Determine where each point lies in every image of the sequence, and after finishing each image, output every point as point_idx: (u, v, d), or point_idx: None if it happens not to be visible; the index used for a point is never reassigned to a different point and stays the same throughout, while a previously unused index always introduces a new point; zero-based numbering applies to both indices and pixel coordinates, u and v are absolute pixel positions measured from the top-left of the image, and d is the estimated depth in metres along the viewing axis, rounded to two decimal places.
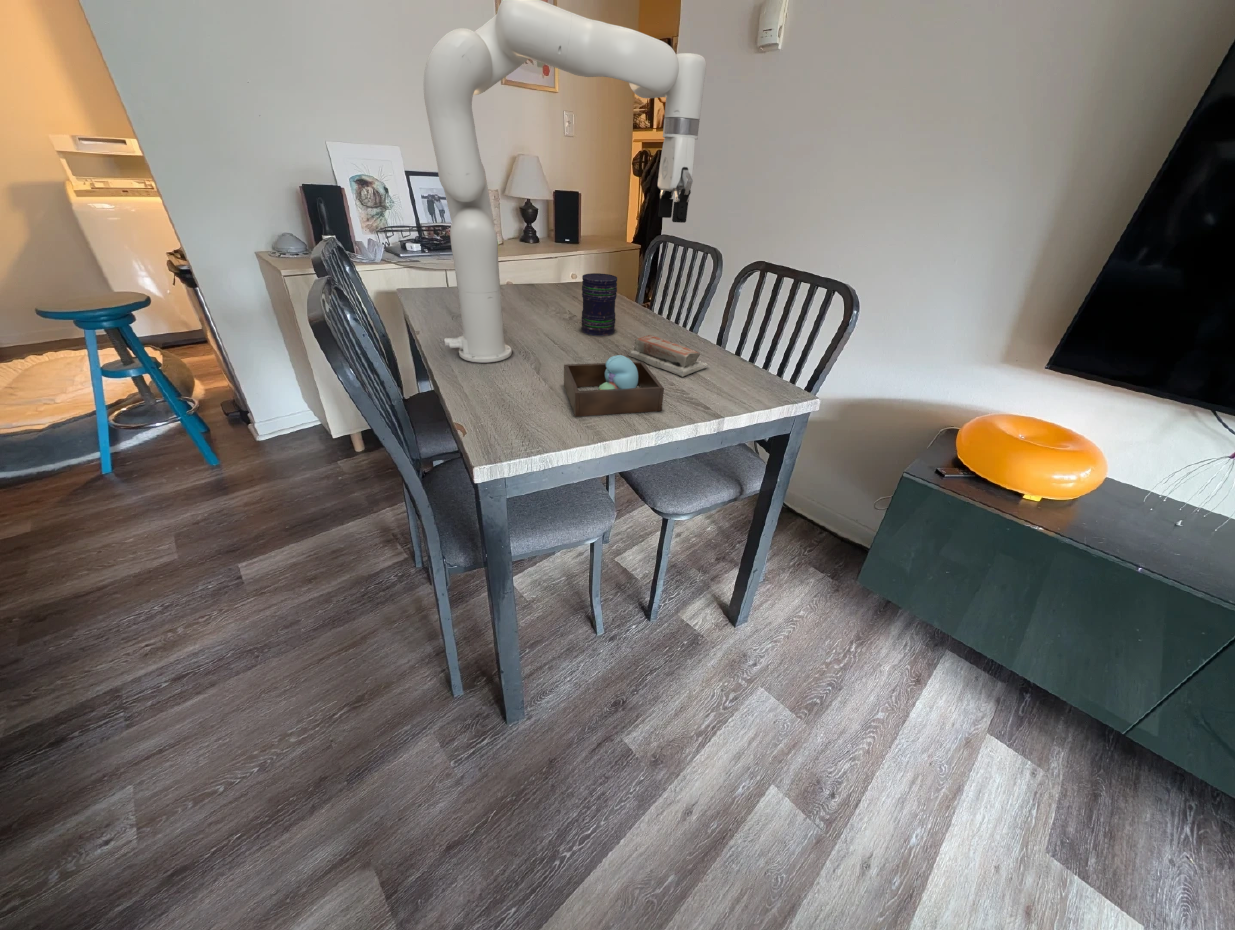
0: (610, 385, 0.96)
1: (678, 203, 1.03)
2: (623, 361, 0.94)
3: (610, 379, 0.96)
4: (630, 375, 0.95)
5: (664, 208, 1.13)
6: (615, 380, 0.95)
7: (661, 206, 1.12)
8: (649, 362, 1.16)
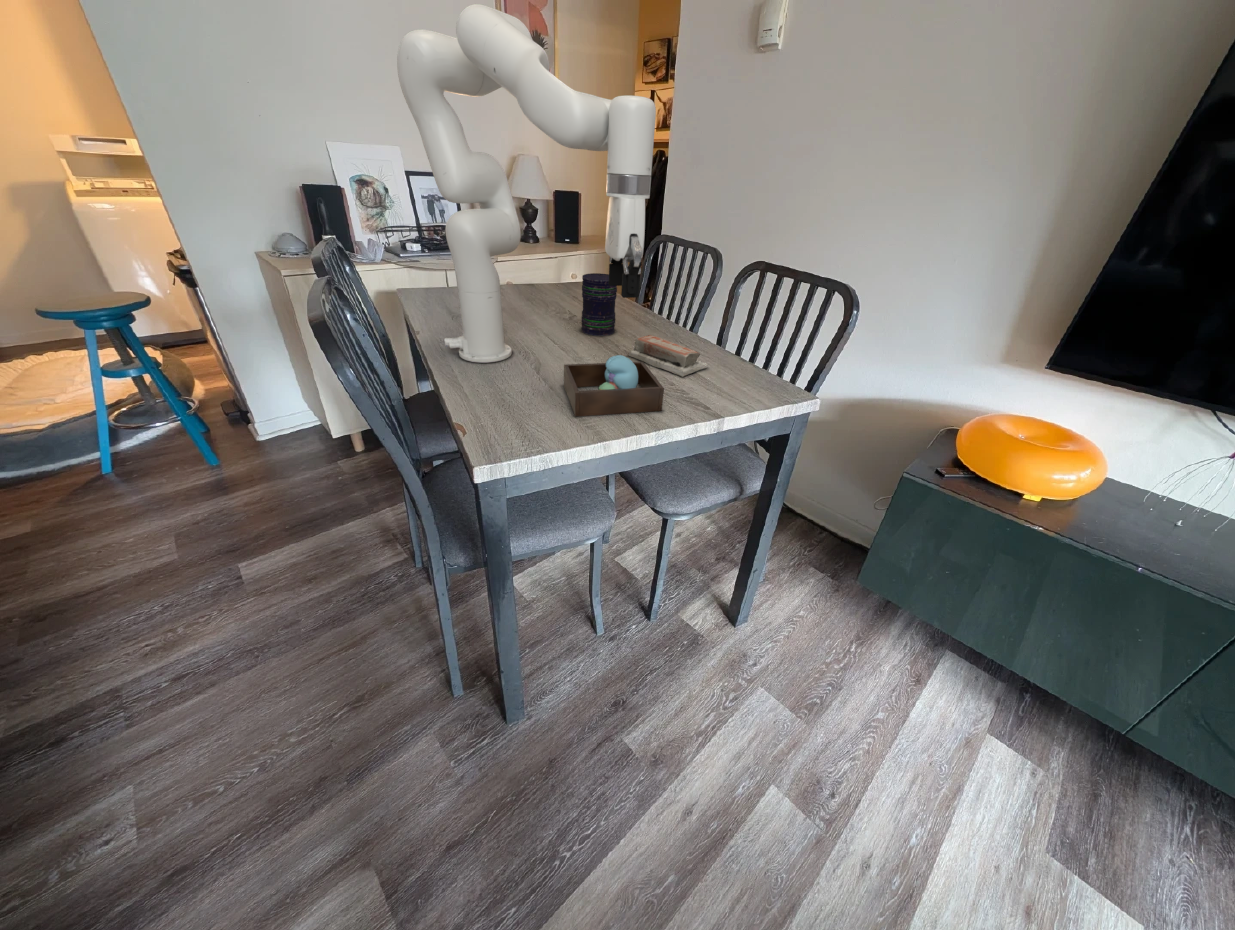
0: (610, 385, 0.96)
1: (627, 276, 0.84)
2: (623, 361, 0.94)
3: (610, 379, 0.96)
4: (630, 375, 0.95)
5: (615, 275, 0.93)
6: (615, 380, 0.95)
7: (611, 273, 0.92)
8: (649, 362, 1.16)
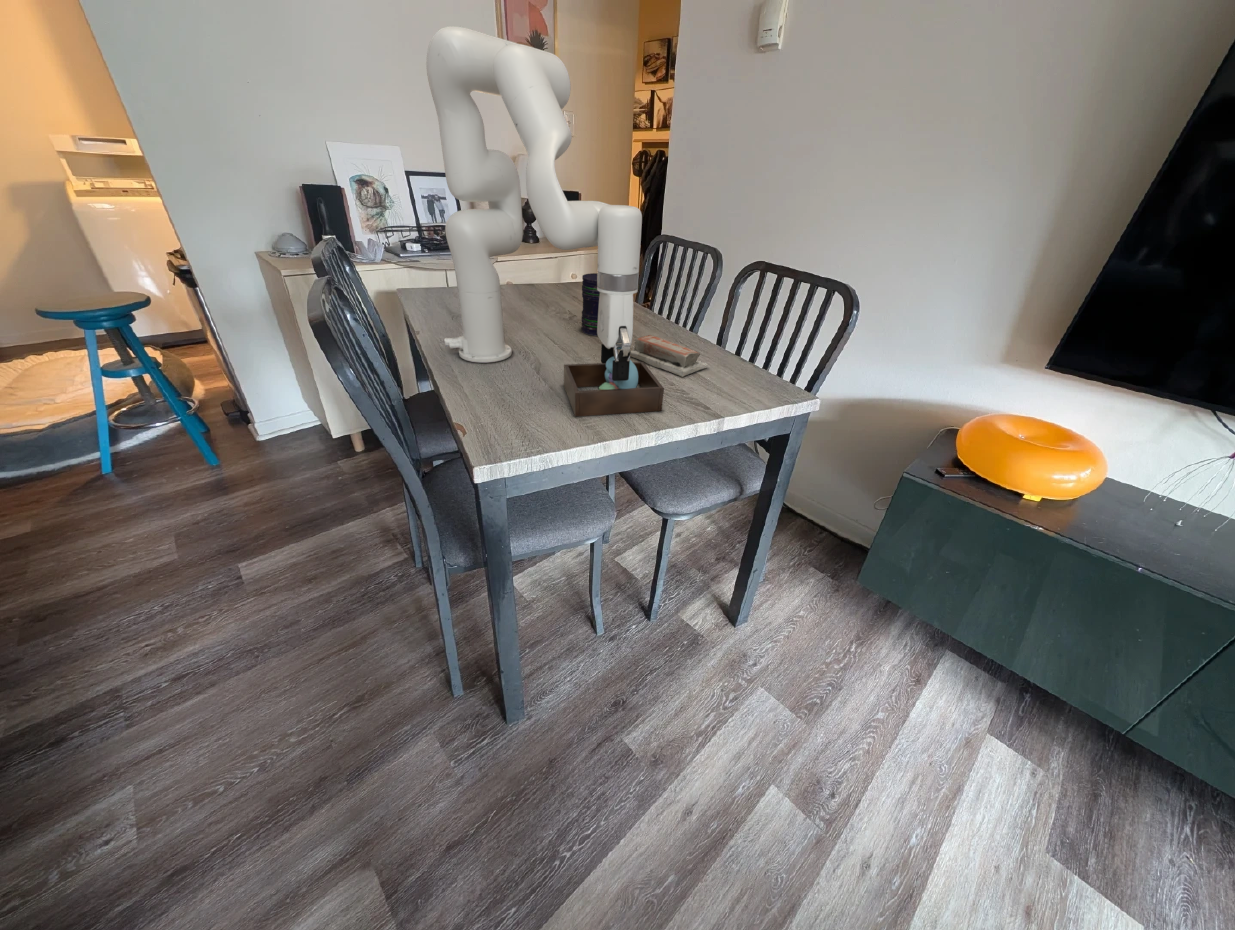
0: (610, 385, 0.96)
1: (617, 363, 0.89)
2: None
3: (610, 379, 0.96)
4: (630, 375, 0.95)
5: (607, 354, 0.98)
6: None
7: (603, 352, 0.98)
8: (649, 362, 1.16)
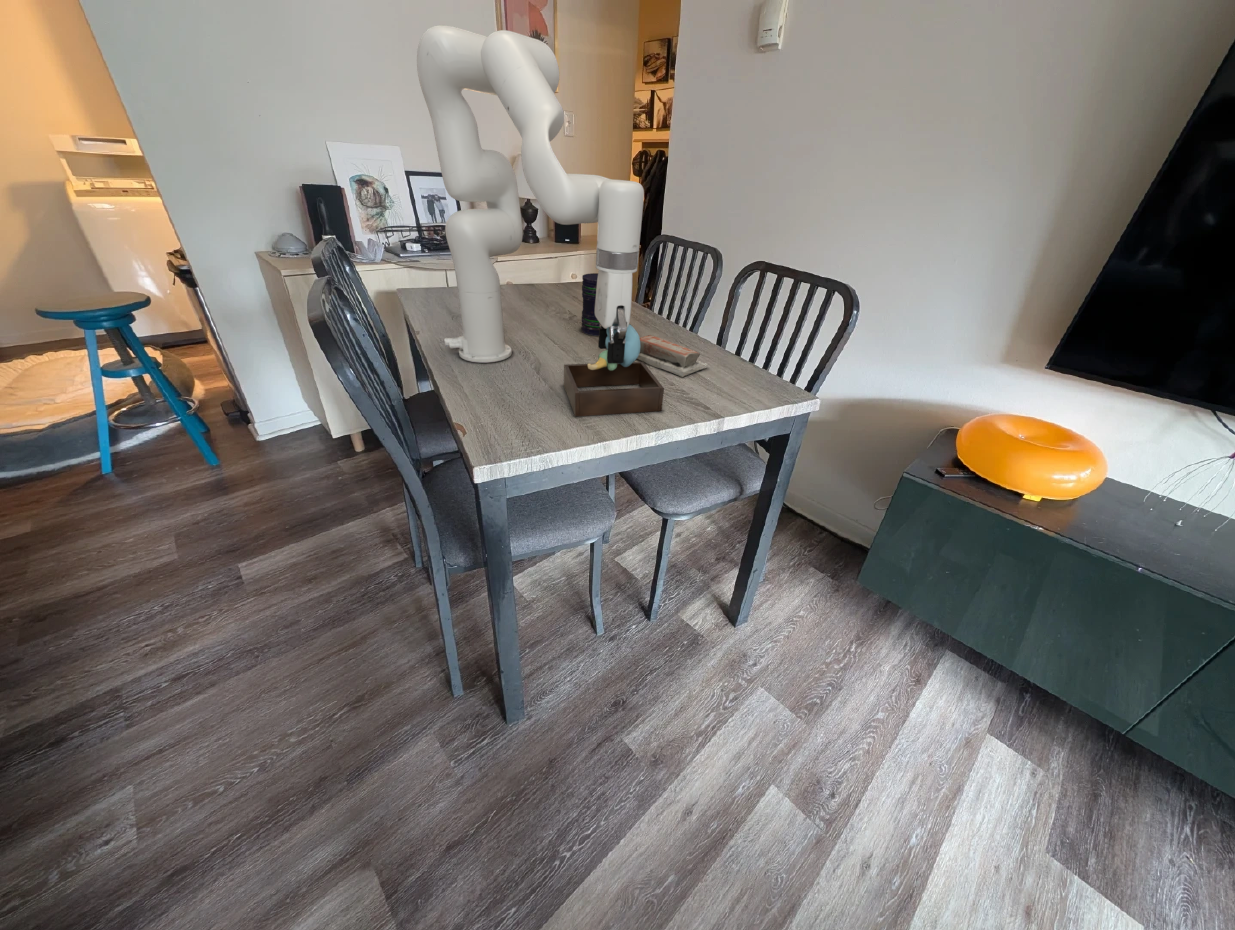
0: None
1: (613, 345, 0.88)
2: None
3: None
4: (632, 342, 0.91)
5: (604, 339, 0.96)
6: None
7: (601, 337, 0.96)
8: (649, 362, 1.16)
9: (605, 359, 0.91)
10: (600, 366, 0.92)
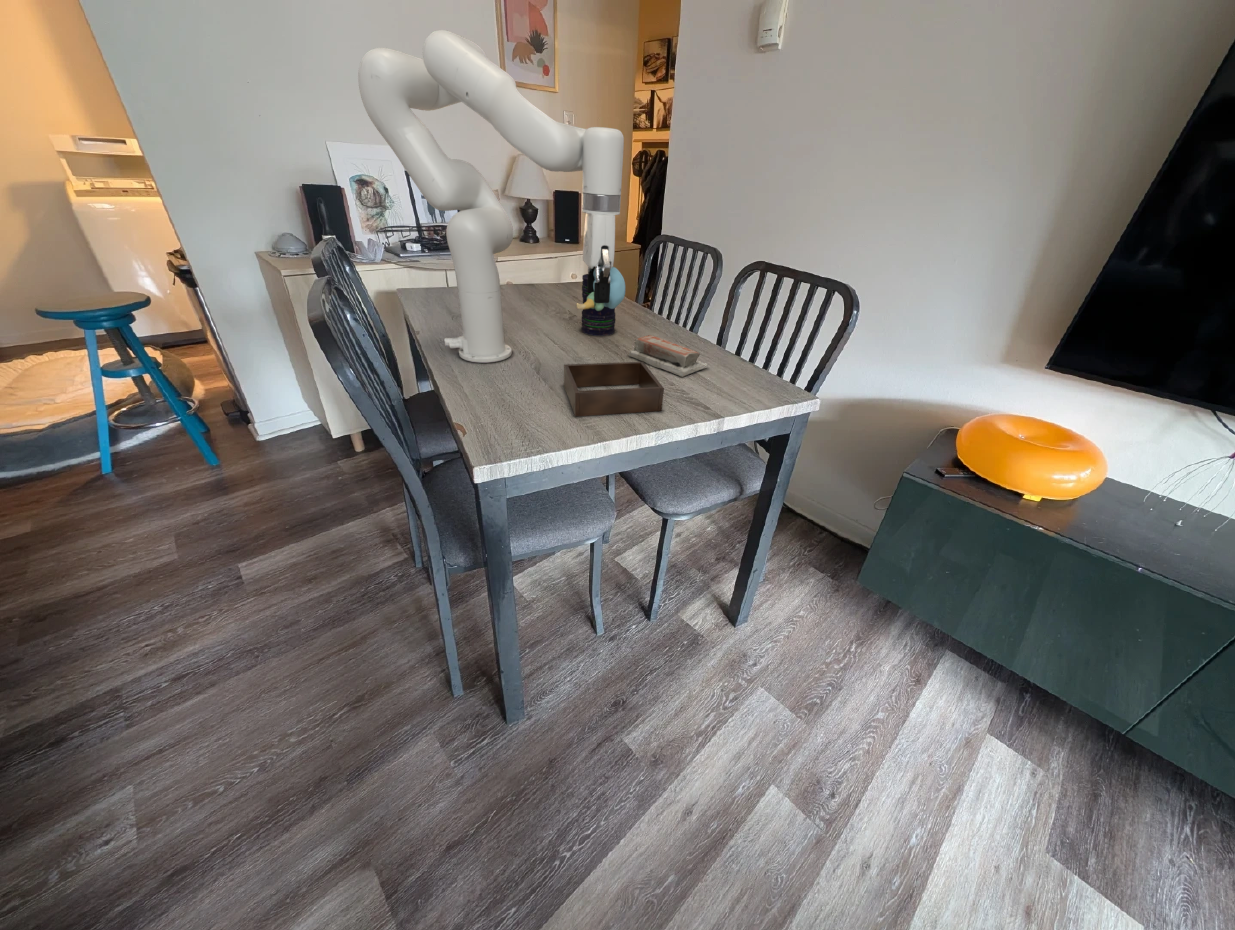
0: None
1: (599, 284, 0.96)
2: (610, 269, 0.98)
3: None
4: (617, 283, 0.99)
5: (592, 284, 1.04)
6: None
7: (589, 282, 1.03)
8: (649, 362, 1.16)
9: (592, 299, 0.99)
10: (588, 306, 0.99)
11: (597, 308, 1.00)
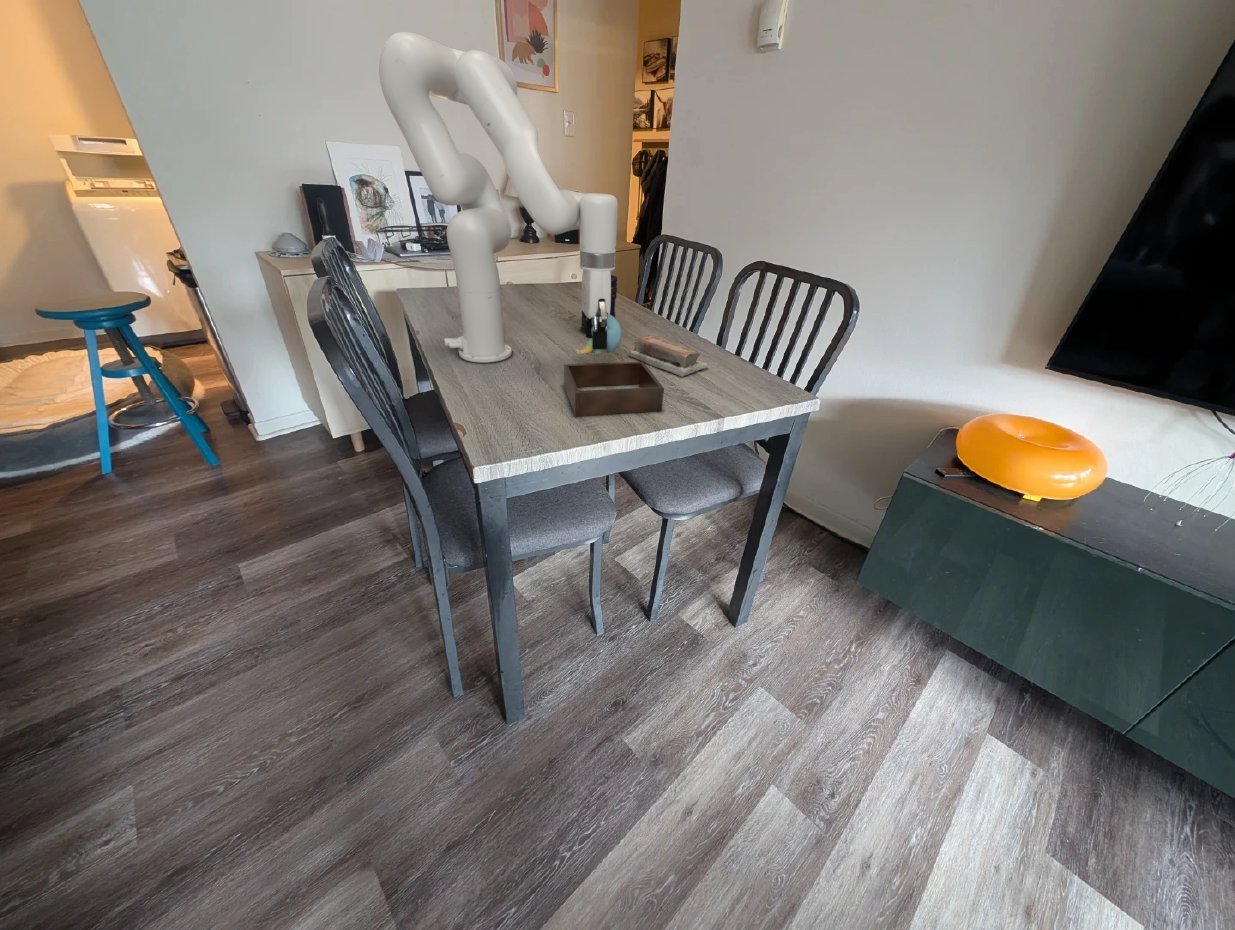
0: None
1: (596, 333, 1.03)
2: None
3: None
4: (614, 330, 1.06)
5: None
6: None
7: (587, 328, 1.11)
8: (649, 362, 1.16)
9: (591, 345, 1.07)
10: (587, 352, 1.07)
11: (595, 353, 1.07)
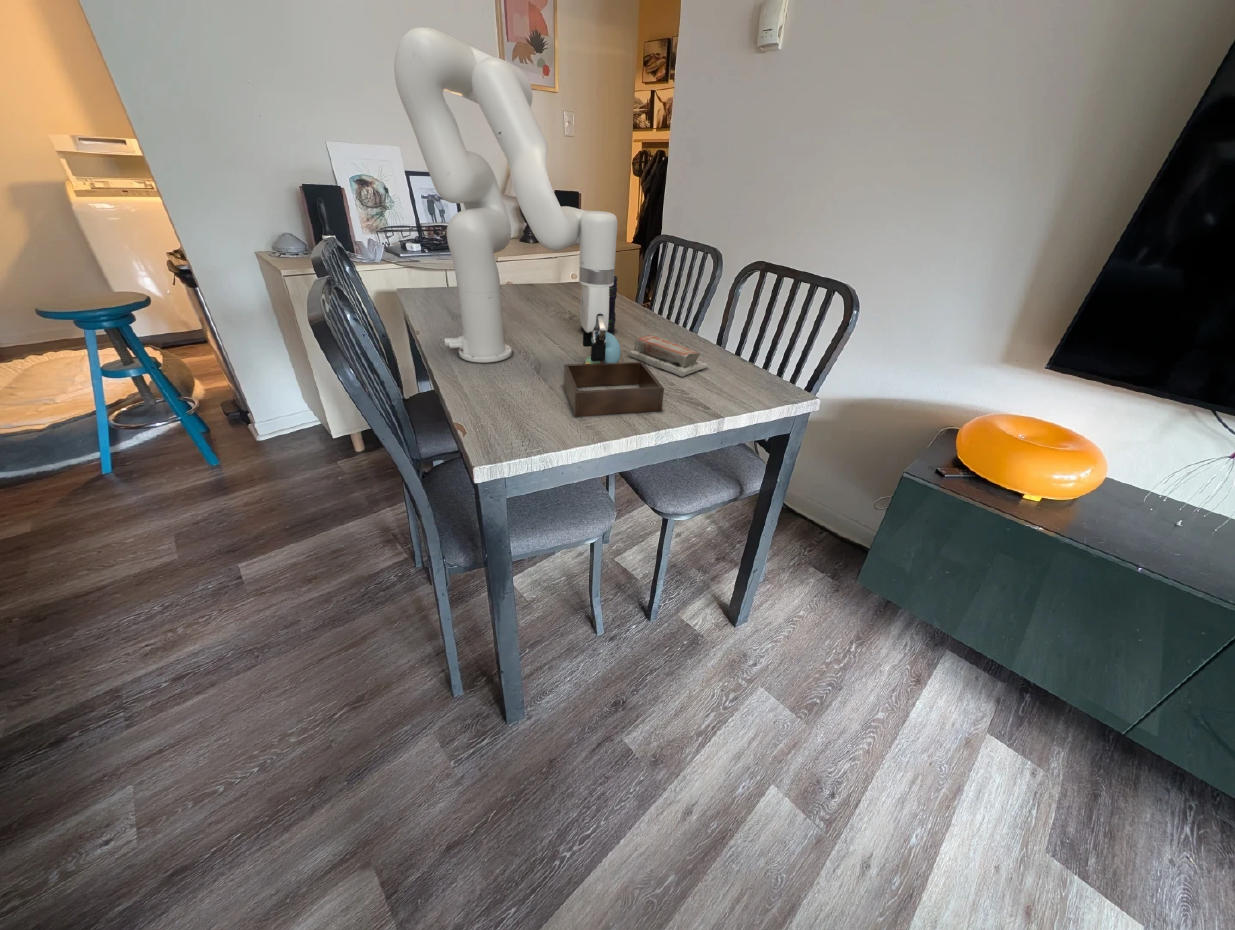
0: None
1: (595, 345, 1.04)
2: (606, 336, 1.07)
3: None
4: (613, 349, 1.08)
5: (588, 338, 1.13)
6: None
7: (585, 337, 1.13)
8: (649, 362, 1.16)
9: (590, 363, 1.09)
10: None
11: None
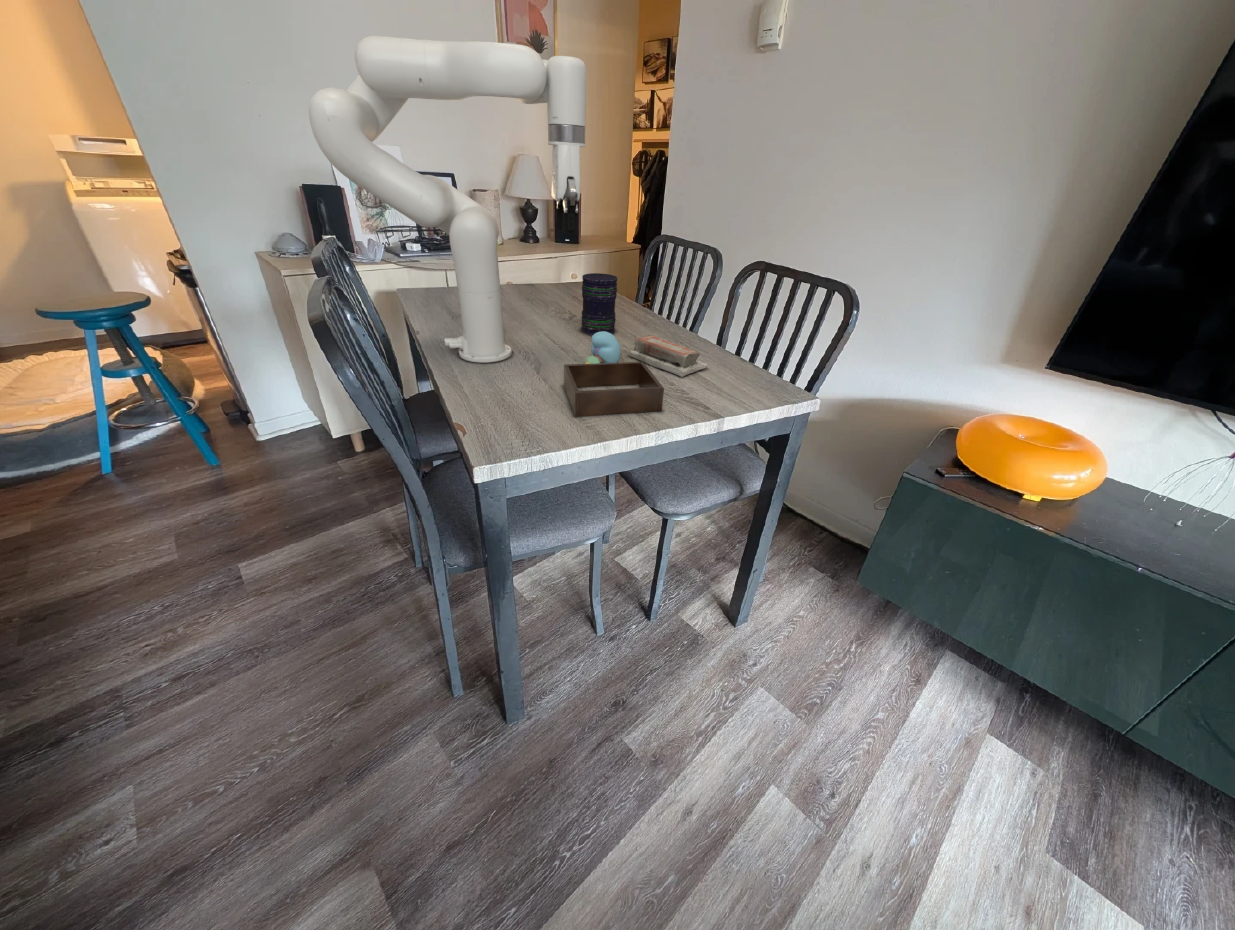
0: (595, 357, 1.09)
1: (567, 214, 0.98)
2: (606, 336, 1.07)
3: (595, 352, 1.09)
4: (613, 349, 1.08)
5: (561, 218, 1.07)
6: (599, 353, 1.08)
7: (558, 216, 1.06)
8: (649, 362, 1.16)
9: (590, 363, 1.09)
10: None
11: None
